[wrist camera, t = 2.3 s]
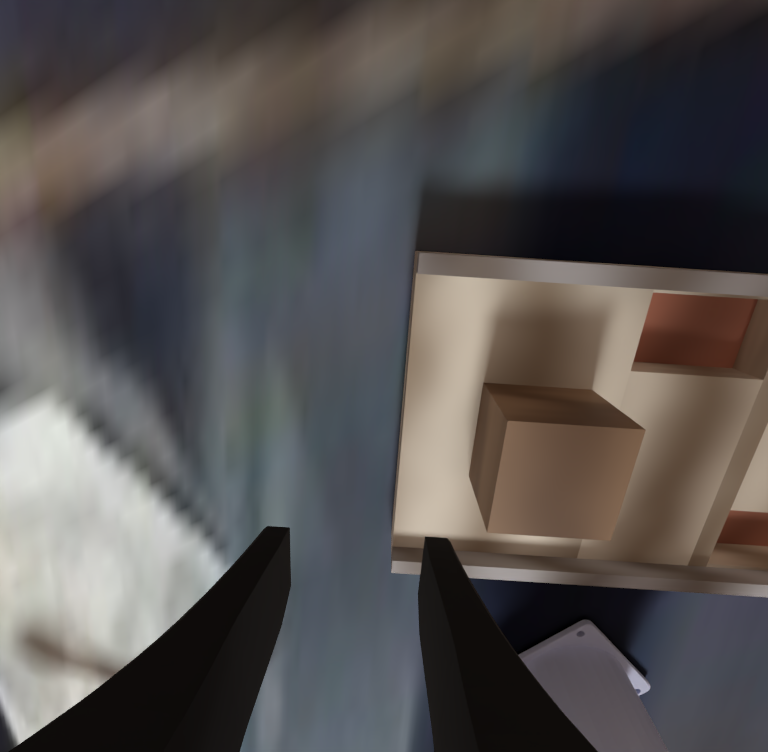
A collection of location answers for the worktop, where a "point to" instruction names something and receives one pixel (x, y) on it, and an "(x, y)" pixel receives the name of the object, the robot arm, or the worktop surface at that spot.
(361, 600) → the worktop surface
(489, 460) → the walnut block
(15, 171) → the worktop surface
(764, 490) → the board
